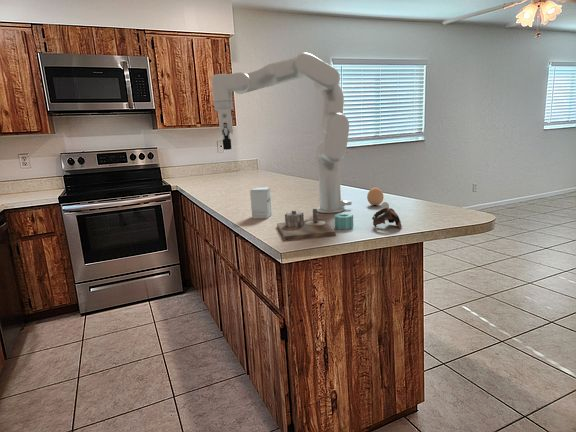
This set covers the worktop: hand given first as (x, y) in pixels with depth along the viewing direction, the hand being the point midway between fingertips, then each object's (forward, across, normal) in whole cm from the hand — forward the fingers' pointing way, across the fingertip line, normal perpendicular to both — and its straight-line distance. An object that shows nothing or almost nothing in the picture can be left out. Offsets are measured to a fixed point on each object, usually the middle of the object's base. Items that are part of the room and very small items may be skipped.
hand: (227, 148), depth 164 cm
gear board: (+30, -30, -26) cm, 50 cm away
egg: (+31, +4, -65) cm, 72 cm away
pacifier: (+31, -20, -60) cm, 71 cm away
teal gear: (+31, -29, -41) cm, 59 cm away
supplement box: (+31, +1, -12) cm, 33 cm away
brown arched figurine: (+31, -34, -56) cm, 72 cm away
